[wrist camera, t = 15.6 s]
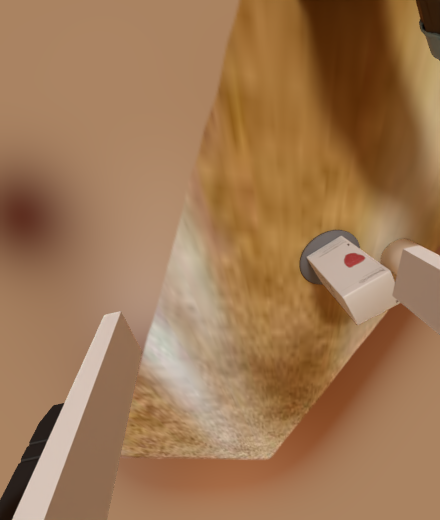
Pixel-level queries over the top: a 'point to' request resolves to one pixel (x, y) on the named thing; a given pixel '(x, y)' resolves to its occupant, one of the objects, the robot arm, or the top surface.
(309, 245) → the base disk
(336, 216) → the top surface
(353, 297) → the supplement box
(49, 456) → the robot arm
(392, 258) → the beige rounded cylinder
